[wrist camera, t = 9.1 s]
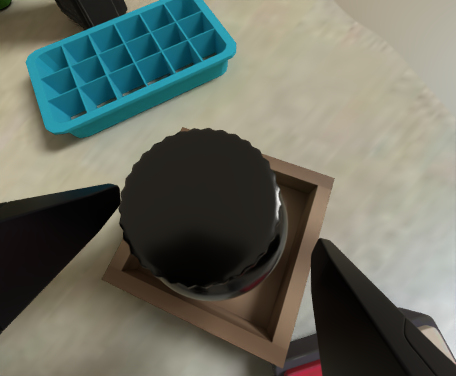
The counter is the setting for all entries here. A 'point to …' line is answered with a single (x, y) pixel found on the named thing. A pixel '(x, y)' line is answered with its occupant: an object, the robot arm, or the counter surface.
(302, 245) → the holder
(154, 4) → the ice cube tray
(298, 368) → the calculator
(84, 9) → the portable radio
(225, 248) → the supplement bottle
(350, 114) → the counter surface
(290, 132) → the counter surface
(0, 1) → the bell pepper
